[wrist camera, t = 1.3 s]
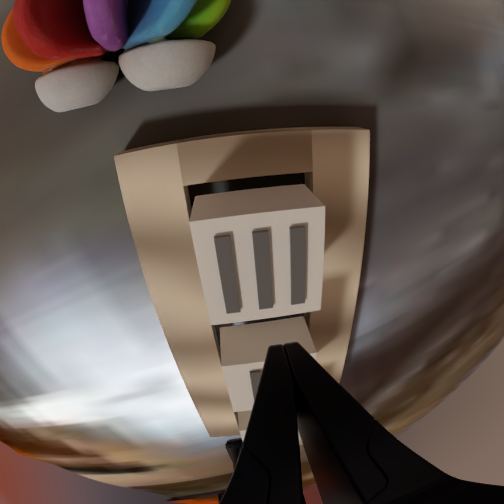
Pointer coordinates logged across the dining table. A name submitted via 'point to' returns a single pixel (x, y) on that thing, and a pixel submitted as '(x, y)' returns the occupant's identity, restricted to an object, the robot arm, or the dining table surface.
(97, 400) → the dining table surface
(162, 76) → the rainbow lobed toy
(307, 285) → the tile three
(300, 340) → the tile two
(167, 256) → the tan curved board
